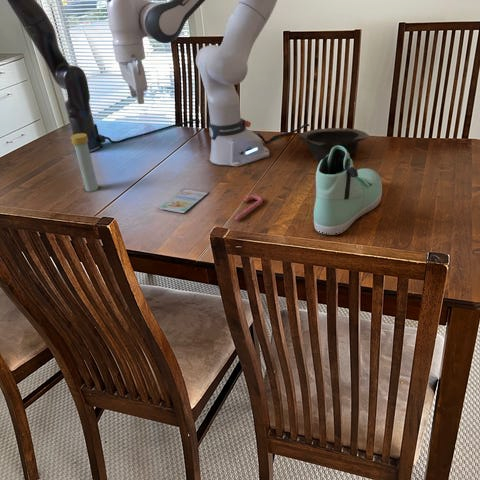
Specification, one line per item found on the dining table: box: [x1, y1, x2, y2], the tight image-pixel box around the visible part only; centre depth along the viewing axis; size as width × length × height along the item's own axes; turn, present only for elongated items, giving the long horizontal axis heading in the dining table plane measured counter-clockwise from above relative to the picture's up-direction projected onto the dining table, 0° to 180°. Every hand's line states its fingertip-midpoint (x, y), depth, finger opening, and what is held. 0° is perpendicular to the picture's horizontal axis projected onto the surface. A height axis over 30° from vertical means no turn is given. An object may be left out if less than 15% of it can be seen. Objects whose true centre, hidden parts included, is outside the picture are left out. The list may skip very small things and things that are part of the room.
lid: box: [70, 133, 88, 146], centre depth 154 cm, size 5×5×2 cm
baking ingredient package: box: [158, 188, 208, 214], centre depth 150 cm, size 9×1×15 cm
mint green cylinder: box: [73, 143, 99, 193], centre depth 159 cm, size 4×4×18 cm
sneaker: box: [313, 146, 383, 236], centre depth 133 cm, size 14×35×20 cm, turn 152°
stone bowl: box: [298, 127, 370, 162], centre depth 173 cm, size 25×25×9 cm
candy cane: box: [234, 194, 264, 222], centre depth 143 cm, size 6×15×2 cm, turn 145°
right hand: (137, 100), depth 151 cm, fingers open, 8 cm apart
